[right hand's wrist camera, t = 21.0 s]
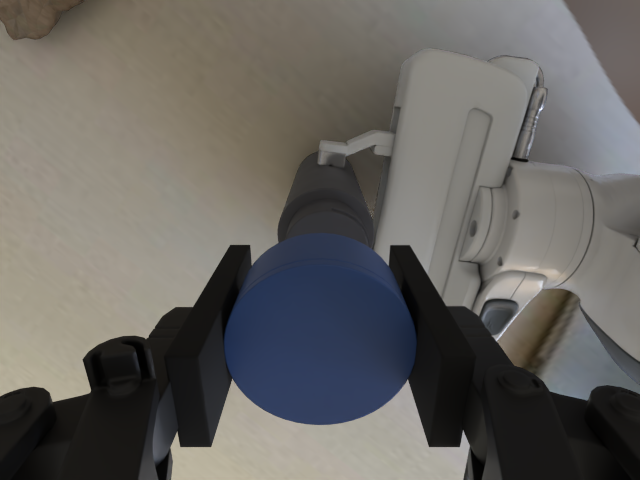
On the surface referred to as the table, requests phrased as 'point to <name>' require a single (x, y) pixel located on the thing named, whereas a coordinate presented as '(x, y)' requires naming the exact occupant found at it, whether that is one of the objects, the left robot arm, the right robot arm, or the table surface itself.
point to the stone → (32, 16)
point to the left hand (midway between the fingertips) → (312, 198)
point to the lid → (320, 331)
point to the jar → (326, 204)
